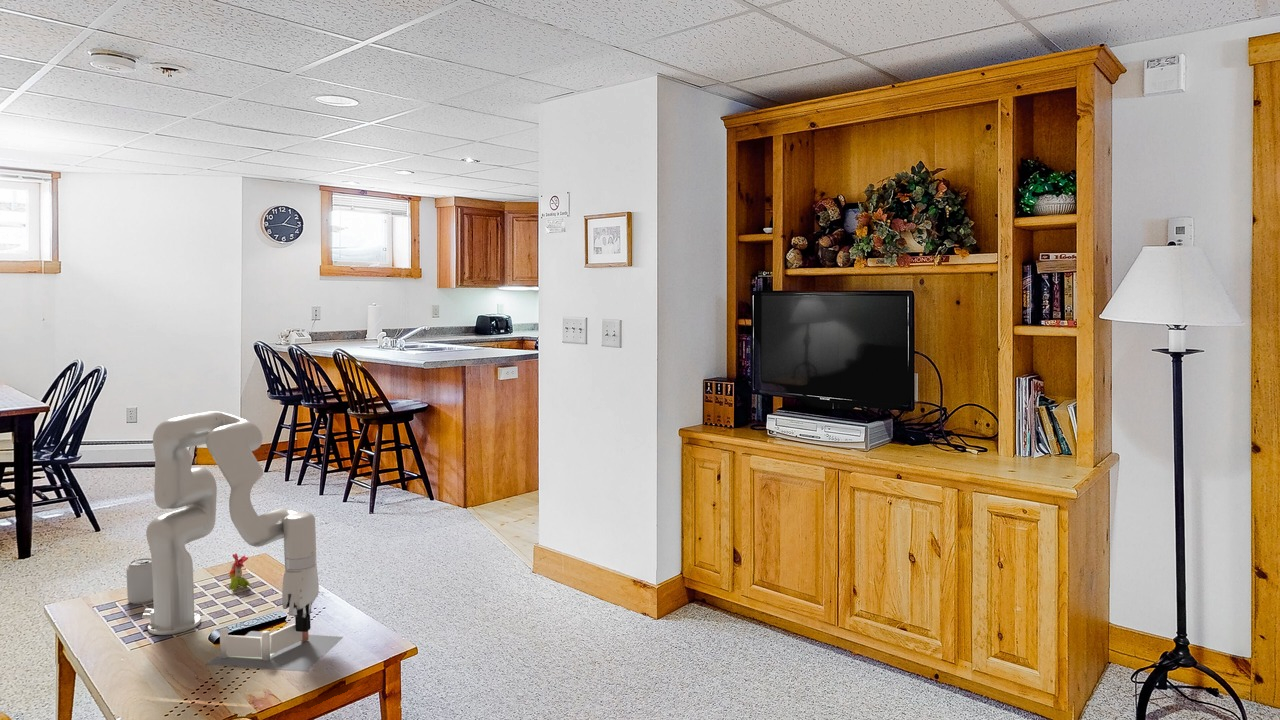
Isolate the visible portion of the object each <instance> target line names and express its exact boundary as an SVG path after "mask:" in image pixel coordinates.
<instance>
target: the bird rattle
mask: <svg viewBox="0 0 1280 720" xmlns="http://www.w3.org/2000/svg"><path fill="white" fill-rule="evenodd" d="M232 558H233V559H234V562H233V563H232V565H231V567H230V568H231V569H230V571H229V578H230V584H229V587H228V589H230V590H233V592H235V591H236V590H237V588H238V587H242V588H248V587H251V586H252V585H251V583H250V582H249V580H248V579H246V578H245V577H242V575H243V571H242V569H243V567H245V566H244V563H245V562H246V561H247V560H248V559H249V557H247V556H246V555H242V556H241V557H240V558H239V556H238V553H236V552H235V554H234V553H233V554H232Z"/></svg>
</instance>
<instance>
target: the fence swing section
mask: <svg viewBox="0 0 1280 720" xmlns="http://www.w3.org/2000/svg"><path fill="white" fill-rule="evenodd" d="M308 635H309V630H308V631H307V632H298V631H296V624H295V622H294V623H292V624H290V625H288V626H285V627H282V628H281V629H278V630H275V631H274V632H273V633H271V634H270V654H273V653H275V652H277V651H280V650H282V649H284V648H286V647H288V646H291V645H293V644H295V643H297V642H299V641H302V642H304V641H307V640H308V639H309V638H308Z"/></svg>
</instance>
